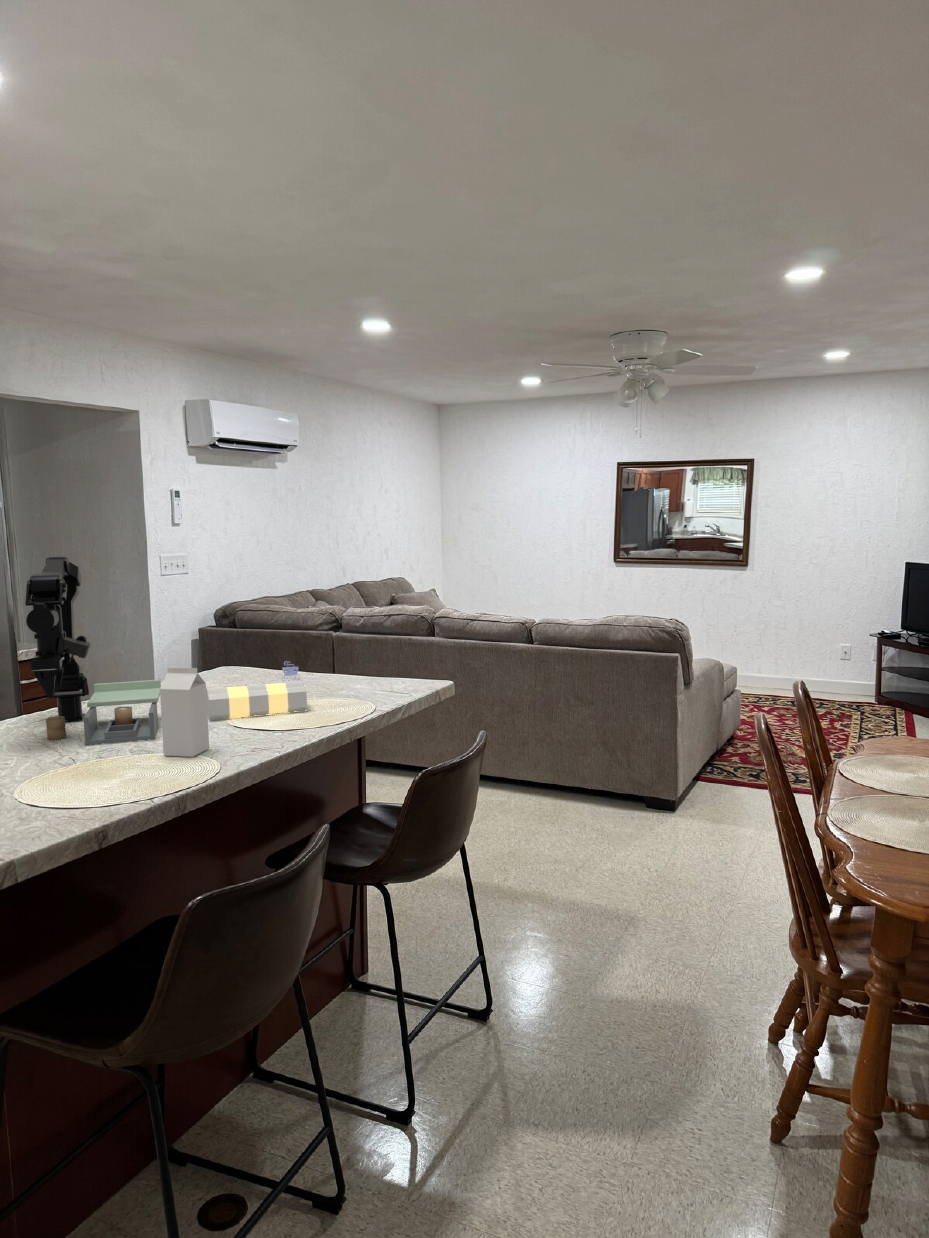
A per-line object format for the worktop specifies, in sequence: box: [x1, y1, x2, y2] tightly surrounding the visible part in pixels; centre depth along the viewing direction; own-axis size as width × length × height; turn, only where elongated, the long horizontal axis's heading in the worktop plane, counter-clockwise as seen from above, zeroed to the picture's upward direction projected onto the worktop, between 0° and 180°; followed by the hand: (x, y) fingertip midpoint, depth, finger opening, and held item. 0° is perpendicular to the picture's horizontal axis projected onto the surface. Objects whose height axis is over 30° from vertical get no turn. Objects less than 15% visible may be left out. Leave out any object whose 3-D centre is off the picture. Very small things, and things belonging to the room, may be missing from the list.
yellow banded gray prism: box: [206, 660, 308, 722], centre depth 223 cm, size 25×10×13 cm, turn 111°
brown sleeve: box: [45, 715, 67, 742], centre depth 200 cm, size 4×4×5 cm
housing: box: [83, 702, 159, 746], centre depth 202 cm, size 14×15×6 cm
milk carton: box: [159, 667, 210, 758], centre depth 185 cm, size 7×7×19 cm
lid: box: [86, 679, 162, 708], centre depth 211 cm, size 15×16×3 cm
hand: (54, 693), depth 199 cm, fingers open, 9 cm apart
